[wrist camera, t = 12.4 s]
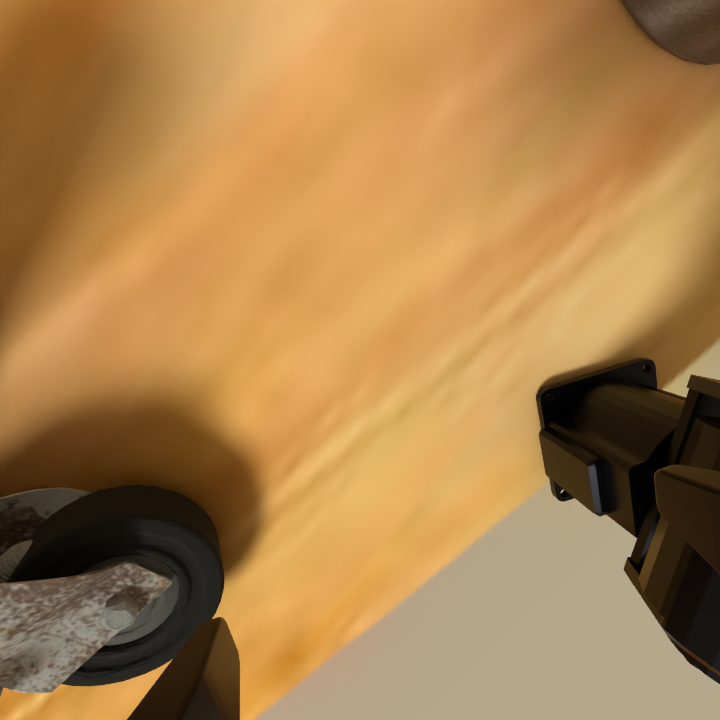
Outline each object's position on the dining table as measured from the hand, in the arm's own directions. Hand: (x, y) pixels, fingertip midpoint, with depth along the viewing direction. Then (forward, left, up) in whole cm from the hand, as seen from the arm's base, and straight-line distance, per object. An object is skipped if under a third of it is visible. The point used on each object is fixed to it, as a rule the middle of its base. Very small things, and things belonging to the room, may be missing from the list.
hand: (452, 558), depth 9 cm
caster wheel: (+14, +4, -13) cm, 19 cm away
